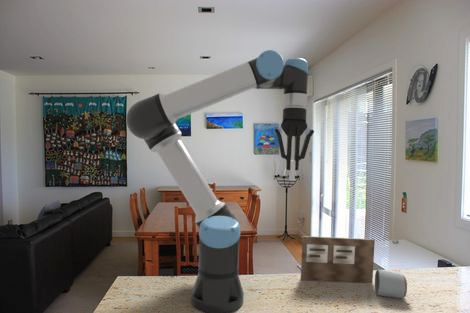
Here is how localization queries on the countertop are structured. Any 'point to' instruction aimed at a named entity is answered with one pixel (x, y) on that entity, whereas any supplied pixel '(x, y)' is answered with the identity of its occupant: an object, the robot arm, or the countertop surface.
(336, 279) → the wooden board
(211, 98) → the robot arm
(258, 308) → the countertop surface
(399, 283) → the ceramic mug
